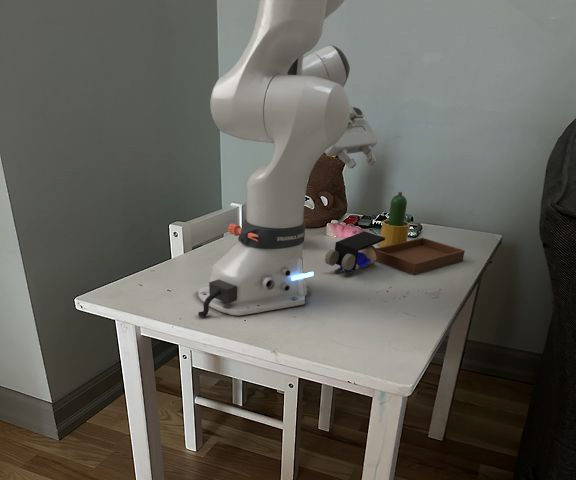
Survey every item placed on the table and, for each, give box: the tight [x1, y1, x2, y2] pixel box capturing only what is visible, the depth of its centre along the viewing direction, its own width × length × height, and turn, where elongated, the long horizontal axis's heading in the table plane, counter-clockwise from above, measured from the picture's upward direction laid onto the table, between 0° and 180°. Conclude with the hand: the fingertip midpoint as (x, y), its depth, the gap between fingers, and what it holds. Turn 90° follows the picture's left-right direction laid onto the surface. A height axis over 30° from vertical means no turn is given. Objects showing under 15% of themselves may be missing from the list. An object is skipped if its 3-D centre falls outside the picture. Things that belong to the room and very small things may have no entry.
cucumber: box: [387, 191, 408, 226], centre depth 141 cm, size 4×4×13 cm
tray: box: [375, 237, 466, 276], centre depth 135 cm, size 19×13×3 cm
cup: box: [378, 219, 411, 247], centre depth 143 cm, size 7×7×6 cm
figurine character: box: [324, 230, 385, 277], centre depth 125 cm, size 7×8×15 cm
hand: (363, 165), depth 142 cm, fingers open, 8 cm apart
